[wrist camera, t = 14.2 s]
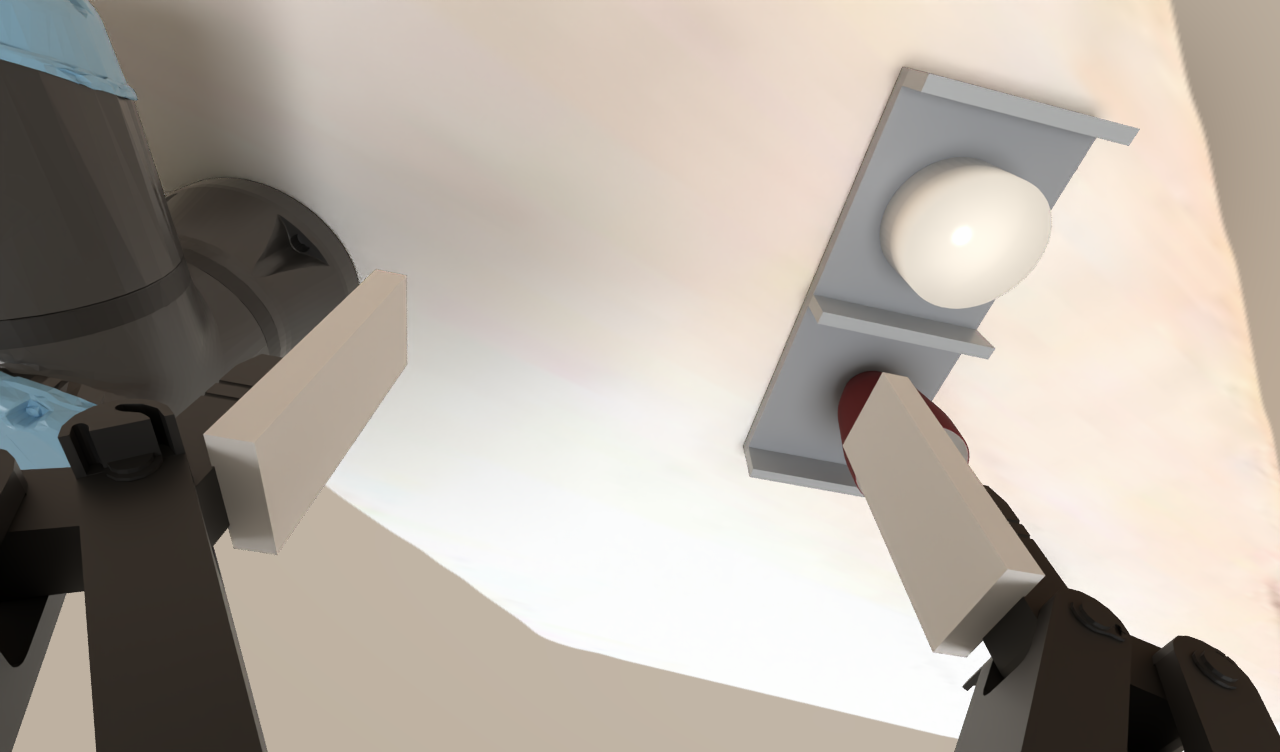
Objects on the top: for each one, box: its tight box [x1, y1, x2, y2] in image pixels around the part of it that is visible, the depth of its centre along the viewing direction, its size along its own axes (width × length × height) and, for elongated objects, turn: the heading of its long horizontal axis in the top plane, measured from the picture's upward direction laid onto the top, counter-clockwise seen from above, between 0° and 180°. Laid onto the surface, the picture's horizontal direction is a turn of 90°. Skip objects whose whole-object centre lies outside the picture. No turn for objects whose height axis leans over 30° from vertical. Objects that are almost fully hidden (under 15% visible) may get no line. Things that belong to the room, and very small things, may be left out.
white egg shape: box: [880, 157, 1052, 309], centre depth 39 cm, size 9×9×5 cm
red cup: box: [838, 371, 969, 495], centre depth 46 cm, size 11×8×10 cm
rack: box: [743, 67, 1140, 497], centre depth 44 cm, size 14×33×4 cm, turn 168°
